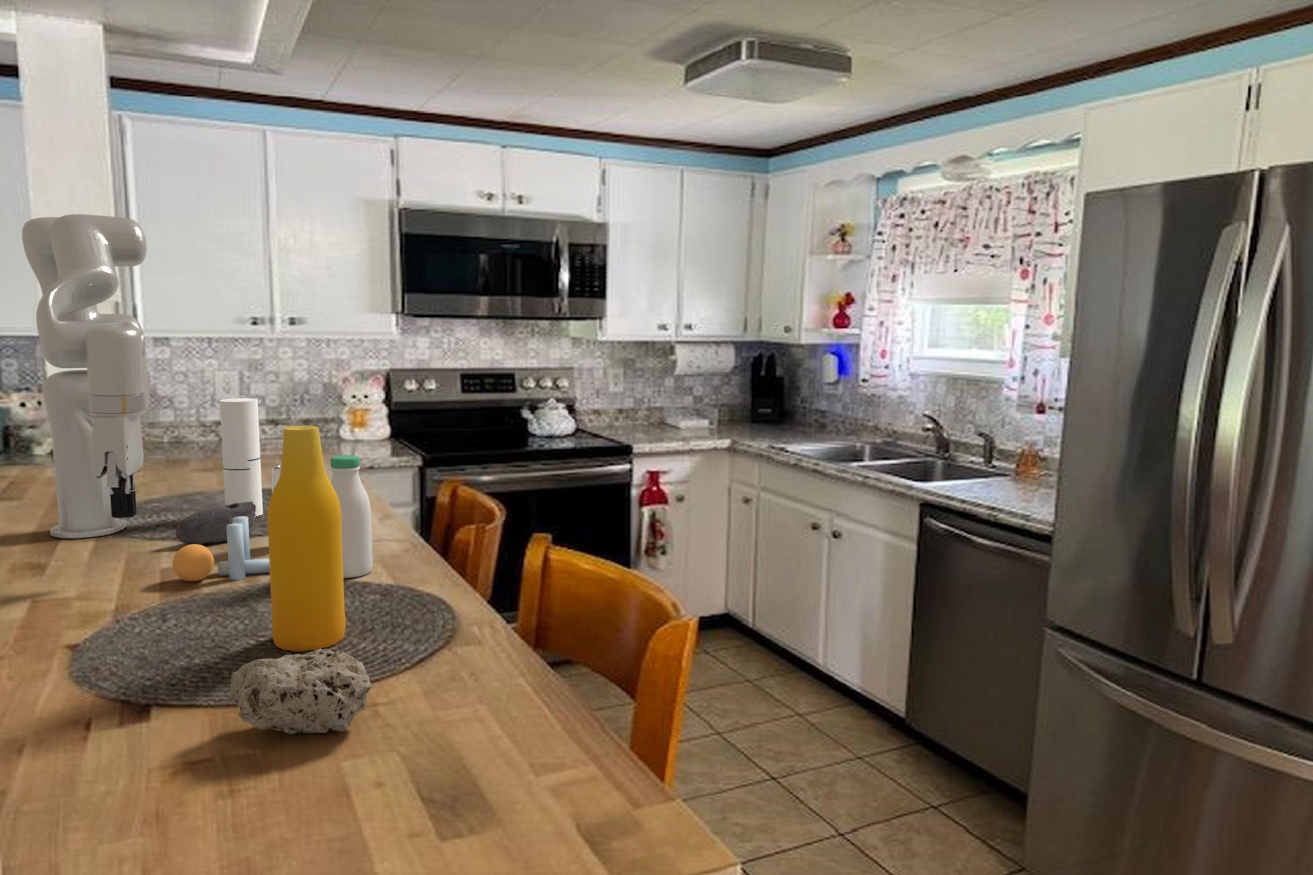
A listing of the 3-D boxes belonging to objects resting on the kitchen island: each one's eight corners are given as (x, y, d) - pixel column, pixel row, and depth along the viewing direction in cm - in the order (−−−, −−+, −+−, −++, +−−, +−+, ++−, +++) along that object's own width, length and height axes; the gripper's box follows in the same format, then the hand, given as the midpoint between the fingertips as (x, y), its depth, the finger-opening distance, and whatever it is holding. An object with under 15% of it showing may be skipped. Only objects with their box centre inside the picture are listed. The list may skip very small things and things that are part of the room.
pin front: (220, 559, 148) (278, 556, 151) (221, 573, 149) (278, 570, 151) (217, 563, 146) (276, 560, 148) (218, 577, 146) (277, 574, 149)
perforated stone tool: (180, 551, 161) (178, 514, 160) (172, 545, 165) (169, 509, 164) (264, 538, 172) (263, 503, 171) (255, 532, 175) (253, 498, 174)
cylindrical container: (270, 516, 189) (264, 399, 185) (238, 522, 183) (232, 402, 179) (250, 511, 192) (244, 397, 189) (218, 517, 187) (212, 400, 183)
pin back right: (236, 567, 152) (233, 516, 150) (251, 567, 152) (249, 516, 151) (233, 571, 149) (231, 519, 148) (249, 571, 150) (246, 519, 149)
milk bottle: (382, 569, 152) (379, 455, 149) (349, 581, 145) (345, 461, 142) (348, 563, 155) (344, 451, 152) (314, 575, 148) (309, 457, 145)
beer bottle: (272, 632, 122) (262, 424, 118) (343, 624, 126) (336, 422, 122) (272, 656, 114) (262, 433, 110) (348, 647, 117) (341, 431, 113)
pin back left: (230, 576, 147) (228, 523, 145) (246, 575, 147) (243, 522, 146) (227, 580, 144) (225, 527, 143) (243, 579, 145) (241, 526, 144)
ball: (228, 557, 147) (201, 572, 148) (202, 531, 145) (175, 546, 146) (211, 578, 142) (184, 594, 143) (184, 552, 139) (157, 568, 141)
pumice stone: (229, 763, 87) (224, 686, 86) (233, 713, 98) (229, 644, 97) (376, 738, 93) (373, 666, 92) (364, 693, 104) (362, 628, 102)
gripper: (106, 397, 146) (113, 505, 149) (73, 411, 132) (81, 530, 135) (156, 398, 148) (162, 504, 151) (129, 412, 134) (136, 528, 137)
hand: (124, 516), depth 143 cm, fingers closed
